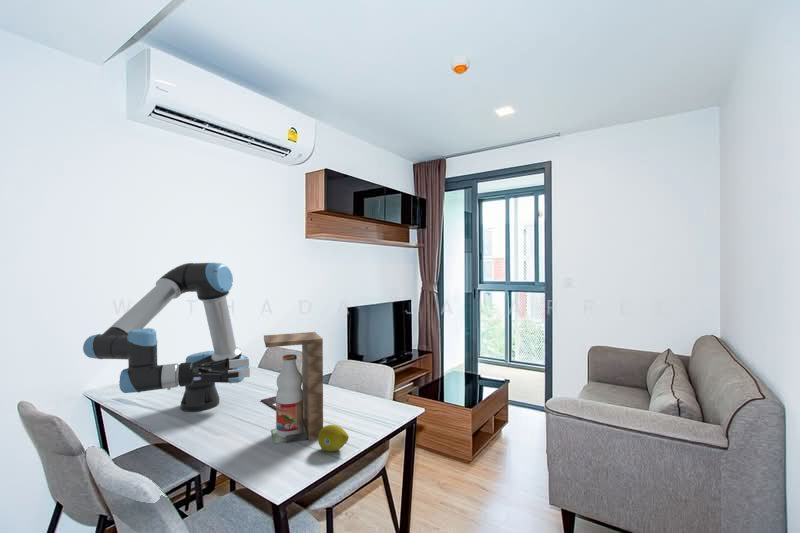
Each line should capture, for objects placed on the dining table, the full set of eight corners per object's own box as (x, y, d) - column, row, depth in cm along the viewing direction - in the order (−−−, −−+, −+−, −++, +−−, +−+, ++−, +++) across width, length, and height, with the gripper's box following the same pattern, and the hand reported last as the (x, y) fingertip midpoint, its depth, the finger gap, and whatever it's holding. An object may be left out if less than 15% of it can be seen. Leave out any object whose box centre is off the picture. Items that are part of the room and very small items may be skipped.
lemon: (311, 451, 122) (311, 426, 122) (328, 441, 129) (327, 418, 129) (337, 459, 117) (337, 434, 117) (353, 449, 123) (352, 425, 124)
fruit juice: (308, 432, 136) (307, 355, 136) (283, 441, 129) (283, 360, 129) (295, 425, 143) (295, 351, 143) (271, 432, 136) (271, 355, 136)
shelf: (266, 447, 125) (265, 343, 125) (264, 428, 140) (263, 335, 140) (323, 437, 132) (322, 338, 133) (315, 420, 147) (315, 331, 147)
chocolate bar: (279, 395, 176) (298, 405, 163) (279, 397, 176) (298, 407, 163) (260, 399, 170) (278, 410, 157) (260, 401, 170) (278, 412, 157)
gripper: (184, 375, 133) (248, 368, 141) (172, 399, 110) (250, 389, 118) (184, 354, 133) (248, 348, 141) (172, 374, 110) (249, 365, 118)
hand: (249, 367), depth 130 cm, fingers open, 13 cm apart
